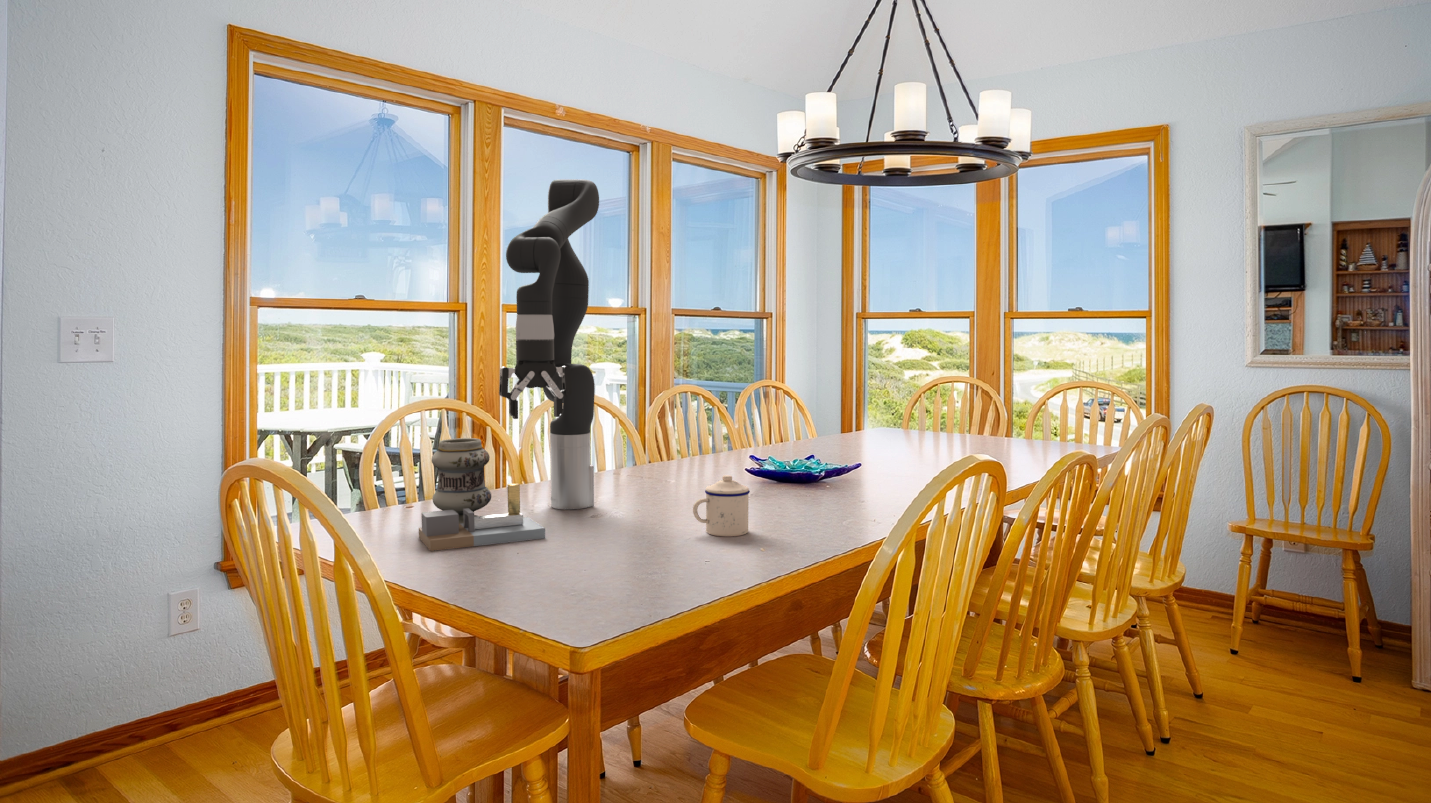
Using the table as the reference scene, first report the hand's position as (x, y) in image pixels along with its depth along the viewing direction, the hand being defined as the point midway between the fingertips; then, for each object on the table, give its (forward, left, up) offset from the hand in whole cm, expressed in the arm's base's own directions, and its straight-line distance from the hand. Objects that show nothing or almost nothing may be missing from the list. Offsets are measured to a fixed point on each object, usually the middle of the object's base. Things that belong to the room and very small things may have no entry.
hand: (536, 417), depth 181 cm
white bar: (+9, +1, -21) cm, 23 cm away
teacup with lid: (-32, +19, -24) cm, 44 cm away
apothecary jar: (+12, -14, -24) cm, 30 cm away
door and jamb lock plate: (+12, +1, -23) cm, 26 cm away
